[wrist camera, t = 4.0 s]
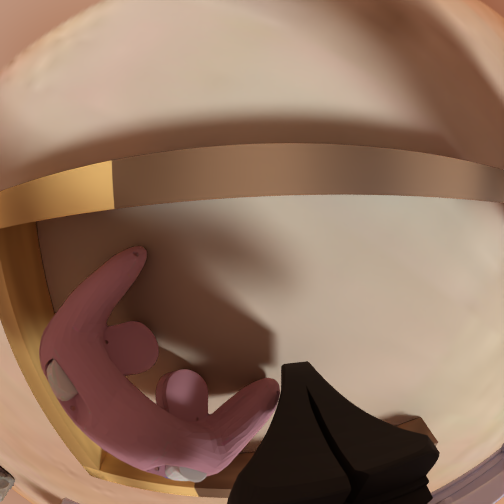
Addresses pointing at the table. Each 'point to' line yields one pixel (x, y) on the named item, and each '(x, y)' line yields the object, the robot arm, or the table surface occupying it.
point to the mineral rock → (5, 483)
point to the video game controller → (131, 398)
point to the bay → (190, 189)
